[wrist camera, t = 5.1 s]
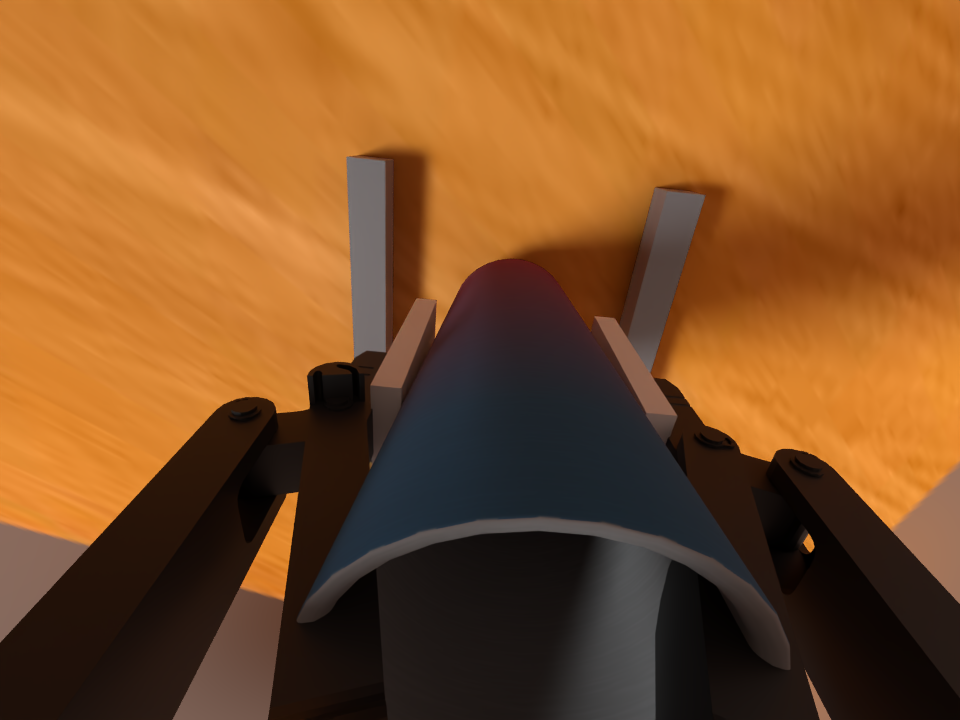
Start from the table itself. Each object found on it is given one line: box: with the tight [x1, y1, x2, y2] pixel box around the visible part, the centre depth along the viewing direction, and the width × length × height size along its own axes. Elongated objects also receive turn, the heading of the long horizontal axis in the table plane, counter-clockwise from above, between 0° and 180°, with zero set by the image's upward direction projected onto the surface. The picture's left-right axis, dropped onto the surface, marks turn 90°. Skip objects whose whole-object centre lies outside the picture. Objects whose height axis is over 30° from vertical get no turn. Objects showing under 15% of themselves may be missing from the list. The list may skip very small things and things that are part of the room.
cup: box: [296, 259, 790, 720], centre depth 13 cm, size 7×7×15 cm
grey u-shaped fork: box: [347, 156, 705, 469], centre depth 20 cm, size 23×14×8 cm, turn 175°
